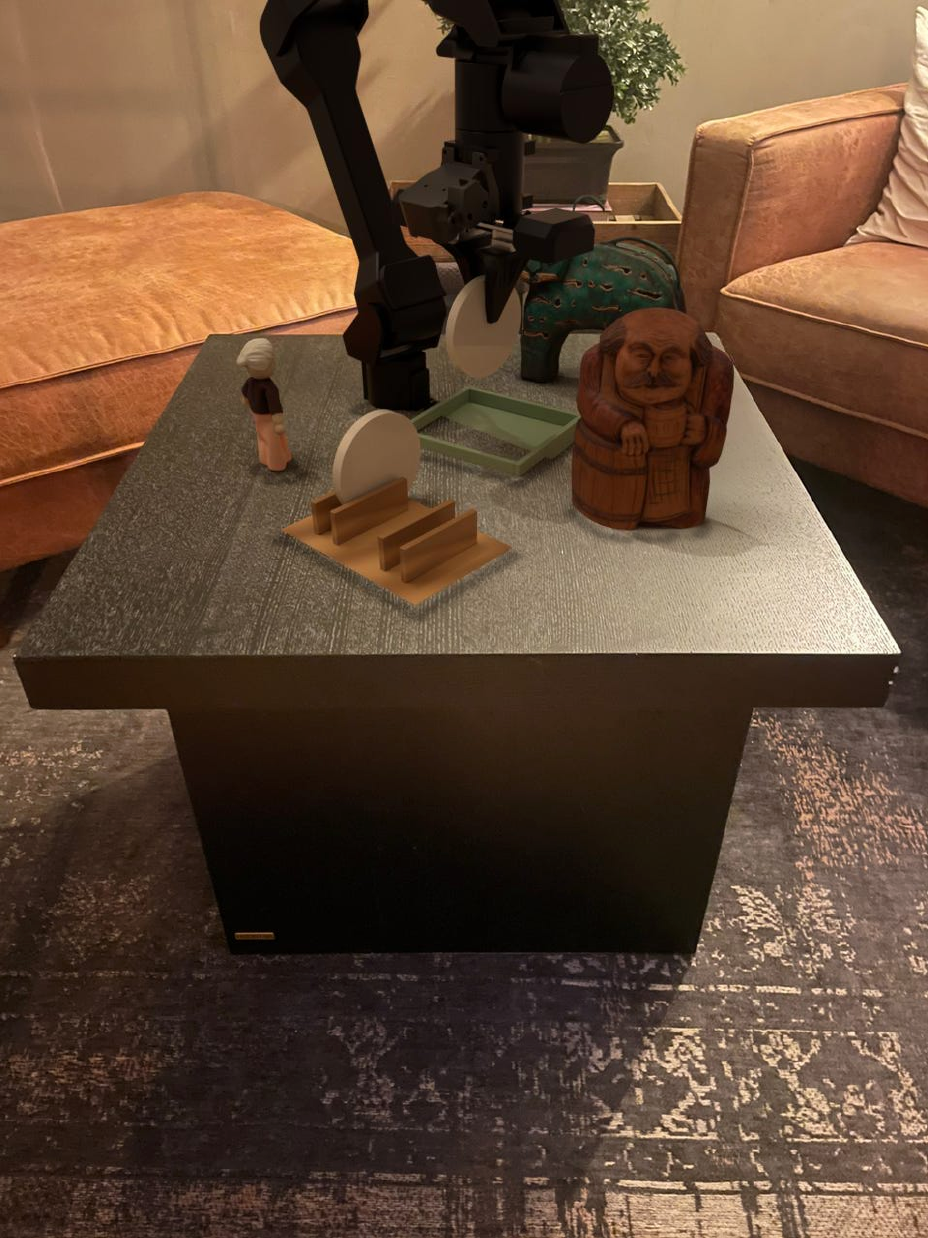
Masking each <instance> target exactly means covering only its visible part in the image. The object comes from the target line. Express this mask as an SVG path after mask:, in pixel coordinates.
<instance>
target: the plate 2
mask: <svg viewBox="0 0 928 1238" xmlns="http://www.w3.org/2000/svg"><path fill="white" fill-rule="evenodd" d="M451 305H452V306H451V308H450V310H449V313H448V317H447V321H446V326H445V348H446V354H447V356H448V359H449V362H450V364H451V365H452V367H454V369H455V370H456V371H457V372H458V373H460V374H462V375H464V376H467V377H469V378H472V379H483V378H487V377H489V376H491V375H493V374H494V373H496V372H497V371H498V370H499V369H500V368H502V366H503V365H504V364H505V363H506V361H508V359H509V358H510V356H511V354H512V352H513V350H514V348H515V346H516V343H517V341H518V338H519V333H520V329H521V321H522V306H521V299H520V296H519V293H518V291H517V289H516V286H515V287H514V289H513V291H512V293H511V295H510V297H509V299H508V301H507V303H506V306H505V308H504V310H503V312H502V314H501V316H500V318H499V320H498V321H497V322H496V323H493V324H489V323H487V318H486V308H485V275H481V276H478V277H476V278H474V279H473V280H471V281H470V282H469V283H468V284H467V285H466V286H465V285H464V286H463V288H462V289H461V290H460V291H459V293H458V294H457V296H456V298H455V300H454V301H453V303H452V304H451Z"/></svg>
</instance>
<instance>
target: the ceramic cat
mask: <svg viewBox="0 0 928 1238" xmlns="http://www.w3.org/2000/svg"><path fill="white" fill-rule="evenodd" d="M584 199H589V200H591V201H593V202H594V203H595V204H597V206H599V208H600V209H601V211H602V212H603V213H605V211H606V207H605V204H604V203H603V202H602V200H600V198H599V197H598V196H596V195H593V194H583V195H580V196H579V197H577V198H576V199H575V201H574V203H573V205H572V211H574V212H576V207H577V205H578V203H579V202H580V201H582V200H584ZM523 214H524V215H529V214H533V212H532V211H530V210H529V209H525V212H523ZM628 241H629V242H635V243H639V244H642V245H644V246H646V247H648V248H652V249H654V250H656V251H658V252H659V253H660V254H661V255H662V256H664V258H665V259H666V260H667V261H668V263H669V264H670V265H671V266H672V268H673V269H672V268H671V267H670V266H669V265H668V264H667V263H666V262H665V261H664V260H663V259H662V258H661V257H659V255H657V254H655V253H654V252H651V251H649V250H647V249H644V248H642V247H639V246H637V245H632V244H628V243H623V242H628ZM673 270H674V271H673ZM674 272H675V273H674ZM518 280H520V281H521V282H523V283H525V284H527V285H528V286H529V288H528V291H527V294H526V296H525V299H524V302H523V303H524V304H523V308H522V311H523V312H522V313H523V314H522V329H521V332H520V337H519V344H520V354H521V355H520V373H519V374H520V375H519V378H520V379H522V380H526V381H527V380H528V381H532V382H536V383H539V384H540V383H546V382H548V381H550V380H551V379H553V377H555V376H556V375H558V374H559V370H560V356H561V353H562V352H561V351H562V348H563V345H564V343H566V341H567V339H568V337H569V335H570V334H571V332H575V331H583V330H596V331H602V332H603V331H604V330H605V329H606V328H608V327H609V326H610V325H611V324H612V323H613V322H614V321H616V320H617V319H618V318H621V317H623V316H624V315H626V314H628V313H630V312H633V311H635V310H638V309H644V308H657V307H658V308H667V309H674V310H677V311H680V312H682V313H684V314H686V315H688V312H687V306H686V299H685V293H684V290H683V287H682V283H681V282H682V281H681V275H680V270H679V268H678V265H677V263H676V261H675V259H674V258H673V256H672V255H671V254H670V252H669V251H668V250H667V249H666V248H665V247H662V246H661V245H659V244H658V243H655V242H653V241H651V240H648V239H645V238H641V237H638V236H637V237H636V236H630V235H629V236H621V237H616V238H613V239H607V240H602V241H597V242H594V250H593V251H591V252H588V253H585V254H581V255H578V256H575V257H572V258H569V259H566V260H562V261H559V262H556V263H541V262H537V261H533V260H529V262H528V264H527V265H526V267H525V268H524V270H523V272H522V273H521V275H520V277H519V279H518Z"/></svg>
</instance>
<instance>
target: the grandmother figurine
mask: <svg viewBox="0 0 928 1238" xmlns="http://www.w3.org/2000/svg"><path fill="white" fill-rule="evenodd" d="M273 354H274V348H273V344H272V343H271V342H270V341H269V340H268V339H267V338H264V337H260V338H253V339H251V340H249V341H248V342H247V343H245V344H244V346H243V348H242V349H241V351H240V353H239V355H238V356H237V359H236V361H235V362H236V365H237V366H238V367H240V368H246V371H247V373H248V375H250V377H248V378H247V379H246V380H245V381H244V383H243V385H242V386H241V389H240V391H241V394H242V401H241V403H242V406H243V407H245V408H246V409H247V408H248V409H249V408H250V410H251V412H252V415H253V419H254V423H255V430H256V435H257V446H258V458H259V462H260V464H262V465H264V466H267V468H268V469H269V471H273V472H281V471H284V470H286V468H287V463H289V462H290V461H291V460H292V459H293V457H292V452H291V448H290V444H289V441H288V437H287V434H286V433H287V427H286V425H285V417H284V409H283V405H282V403H281V399H280V389H279V387H278V385H276V383H275V382H274V381H273V380H272V378H271V377H272V376H273V375H274V373H275V371H276V366H277V365H276V360H275V357H274V356H273Z"/></svg>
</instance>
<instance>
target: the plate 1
mask: <svg viewBox="0 0 928 1238" xmlns="http://www.w3.org/2000/svg"><path fill="white" fill-rule="evenodd" d="M410 420H411V419H409V418H408V417H407V416H405V415H404V414H402V413H398V412H396V411H395V410H394V411H392V410H386V409H377V410H373V411H369V412H368V413H366V414H364V415H362V416H361V417H360V418H358V419H357V420H355V422H354V423H352V425H351V426H350V427H349V428H348V430H347V431H346V432H345V434H344V436H343V437H342V439H341V440H340V443H339V445H338V447H337V449H336V452H335V456H334V460H333V464H332V486H333V491H334V490H335V493H336V496H337V498H338V500H339V501H340V503H341V504H342V505H344V504H346V503H348V502H350V501H352V500H355V499H357V498H359V497H361V496H363V495H365V494H367V493H369V492H371V491H373V490H376V489H378V488H380V487H382V486H384V485H386V484H388V483H390V482H392V481H395V480H397V479H399V478H401V477H404V478H406V479H407V487H408V492H409V491H410V490H411V489H412V486H413V484H414V482H415V479H416V477H417V474H418V471H419V467H420V463H421V462H420V461H421V453H422V451H421V449H422V448H421V446H420V439H419V435H418V431H417V430H416V428H415V426H414V425H413V423H412V422H411V421H410Z"/></svg>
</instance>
